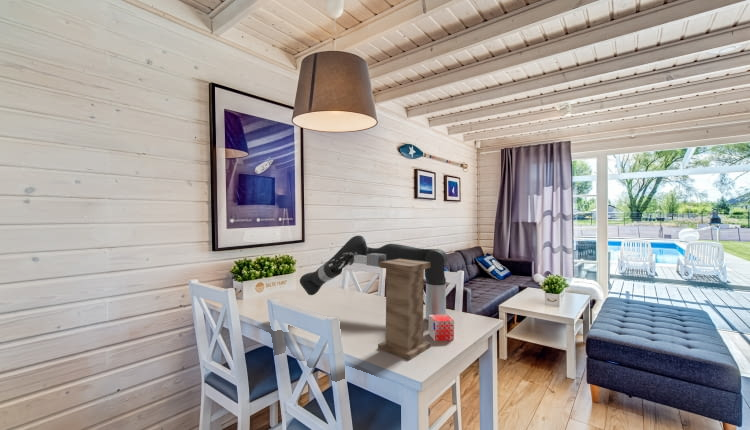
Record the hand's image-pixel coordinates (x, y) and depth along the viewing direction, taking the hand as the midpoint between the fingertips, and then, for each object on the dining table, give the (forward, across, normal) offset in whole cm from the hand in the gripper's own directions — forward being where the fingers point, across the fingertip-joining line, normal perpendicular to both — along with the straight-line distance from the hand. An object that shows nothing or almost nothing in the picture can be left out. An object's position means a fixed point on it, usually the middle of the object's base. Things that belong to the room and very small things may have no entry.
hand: (353, 255), depth 136 cm
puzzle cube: (+11, +19, +44) cm, 49 cm away
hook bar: (+3, 0, +5) cm, 6 cm away
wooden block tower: (+6, 0, +41) cm, 41 cm away
